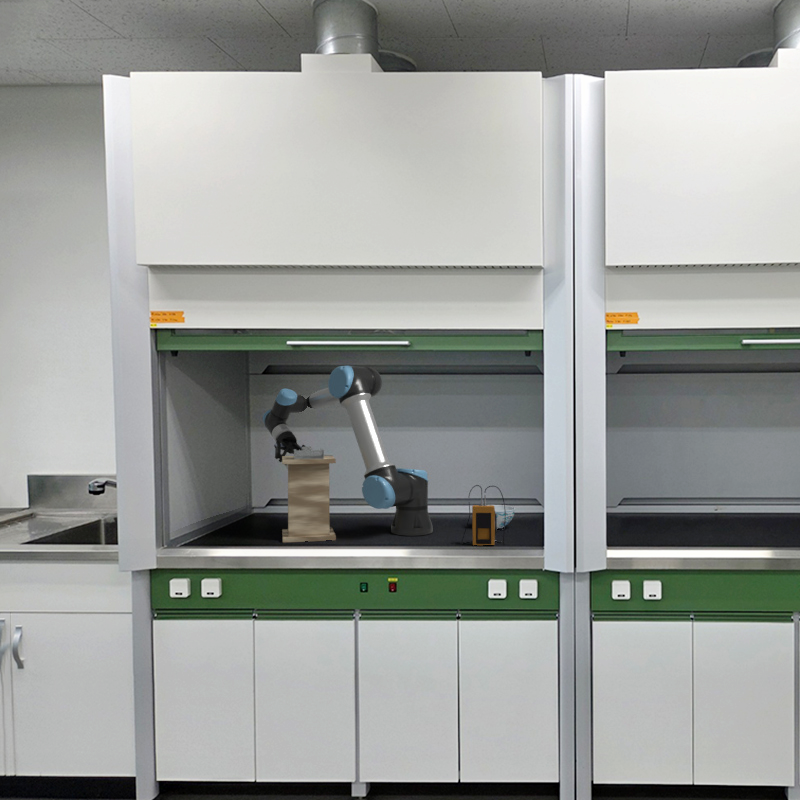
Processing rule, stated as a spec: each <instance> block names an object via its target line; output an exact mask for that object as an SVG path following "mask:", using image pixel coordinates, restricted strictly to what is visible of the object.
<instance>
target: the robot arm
mask: <svg viewBox="0 0 800 800" xmlns="http://www.w3.org/2000/svg"><path fill="white" fill-rule="evenodd" d="M382 387H383V379H382V376H381V374H380V373H379V372H378V370H376V369H375V368H373V367H370V366H354V365H353V366H352V365H340V366H337V367H336V368H335V367H334V369H333V370H332V371H331V373H330V375H329V378H328V381H327V387H324V388H323V389H319V390H316V391H317V392H316V391H314V392H315V393H313V392H312V393H313V394H311V395H310V396H309V397H308V398H307V399H305V398H304V397H303V396H301V395H302V394H297V392H296V391H294V390H292V389H289V388H282V389H280V391H279V392H278V394H277V396H276V398H275V401H274V403H273V404H272V407H271V409H268V410H266V411H265V413H263V416H262V422H263V424H264V426H265V428H266V429H267V430H268V432H269V434H270V435H271V436H272V438H273V439H274V441H275V443H274V445H273V447H274V449H275V451H274V452H275V453H274V458H275V459H276V460H278V462H279V463H282V456H287V453H289V454H290V455H294V449H296V450H301V447H307V446H306V445H304V444H302V445H299V444H298V440H297V437H296V436H295V434H294V433H293V431H292V430H291V428H290V427H289V426H288V424H287V420H288V419H289V417H290V415H291V414H297V413H299V412H302V411H304V410H305V409H306V408H307V406H308V407H310V408H314V409H321V408H322V409H325V408H329V407H331V406H335V405H338V404H340V406H341V408H344V409H345V410H346V411H347V414H348V418H349V422H350V423H351V426H352V431H353V433H354V436H355V439H356V442H357V446H358V447H359V451H360V453H361V455H360V456H361V458H362V460H363V463H364V466H365V469H366V471H365V473H364V474H363V477H364V480H363V483H362V487H361V493H362V496H363V497H362V498H363V499H364V501H365V502H366V503H367V504H368V506H370V507H372V508H373V509H378V510H381V509H384V510H385V509H389V508H393V507H395V513H394V515H393V519H392V522H391V526H390V528H391V529H390V530H391V531H390V532H391V533H392V534H394V535H398V536H406V537H407V536H409V537H410V536H417V537H418V536H426V535H431V534H432V533H433V532H434V531H433V527H434V526H433V523H432V520H431V517H430V514H429V509H428V506H429V505H428V504H429V503H428V502H429V501H428V497H429V491H428V490H429V489H428V488H429V479H428V473H427V471H426V470H424V469H415V468H414V469H412V468H400V467H396V464H394V463H392V462H390V459H389V457H388V454H387V450H386V447H385V445H384V442H383V439H382V437H381V434H380V430H379V428H378V425H377V422H376V418H375V416H374V413H373V410H372V408H371V404H370V399H371V398H373V397H375V396H376V395H377V394H379V393H380V391H381V390H382ZM322 409H321V410H322ZM299 414H300V413H299ZM282 451H283V452H282ZM281 452H282V453H281ZM283 465H284V466H285V467H286V469H287V470H288V464H283Z"/></svg>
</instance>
